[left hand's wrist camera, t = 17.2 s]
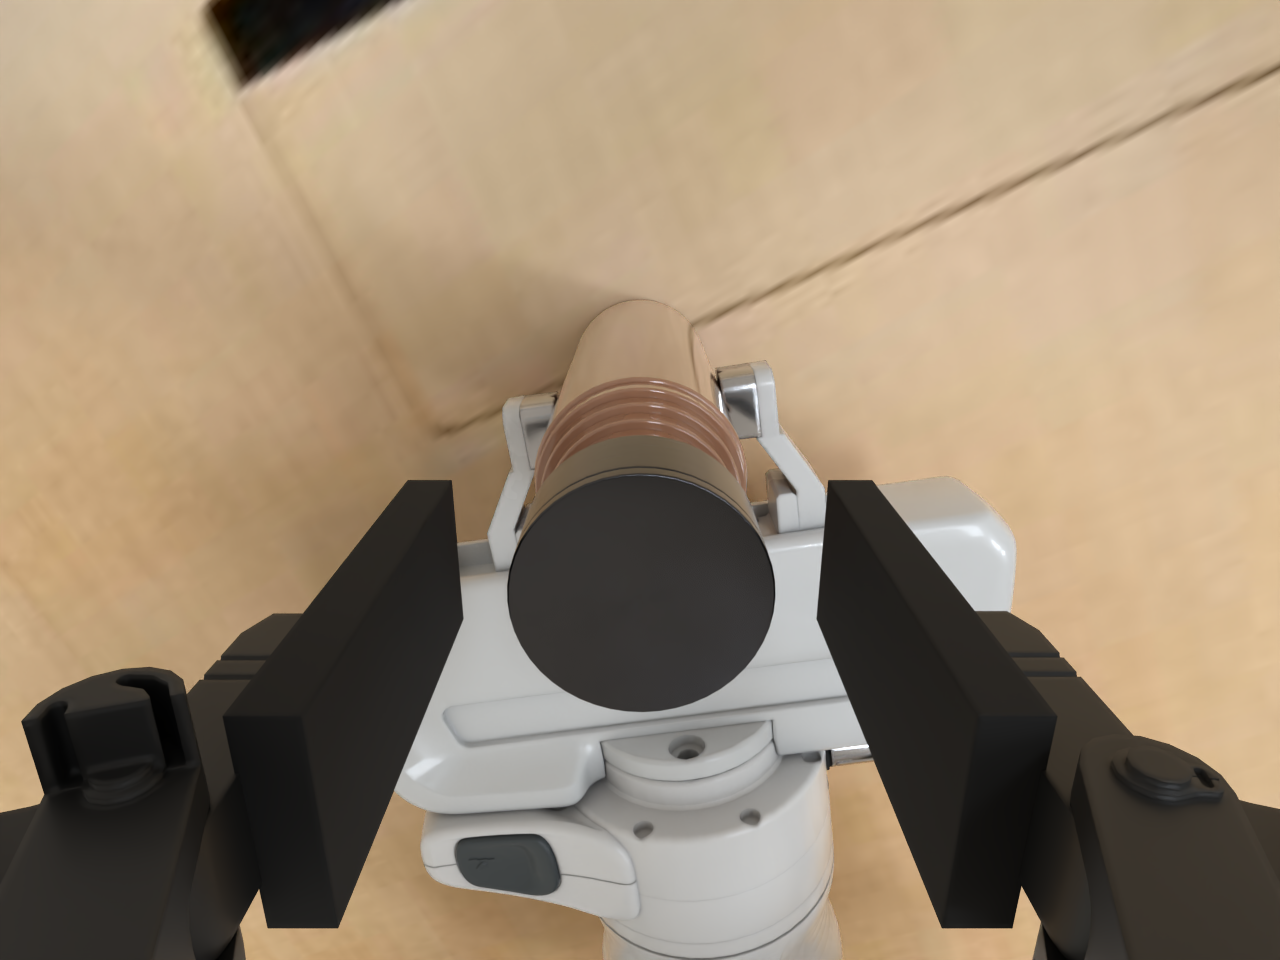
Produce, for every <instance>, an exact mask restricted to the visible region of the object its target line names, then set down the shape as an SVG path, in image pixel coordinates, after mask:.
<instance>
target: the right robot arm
mask: <svg viewBox="0 0 1280 960" xmlns="http://www.w3.org/2000/svg"><path fill="white" fill-rule="evenodd" d="M716 381H717V384H718V386H719V389H720V391H721V394H722V396H723V399H724V401H725V404H726V406H727V409H728V412H729V414H730V417H731V419H732V422H733V424H734V427H735V429H736V432H737V434H738V437H739V439H746V438H755V437H756V439H757V440H758V441H759V443H760V444H761V445H762V447H763V448H764V449H765V451H766V452H767V453H768V454H769V456H770V457H771V458H772V460H773V461H774V462H775V464H776V465H777V466H778V468H779V469H773V470H768V472H767V473H766V474H765V476H766V487H767V498H768V500H766V501H759V502H751V505H752V508H753V511H754V514H755V517H756V520H757V523H758V525H759V528H760V531H761V534H762V537H763V540H764V543H765V545H766V548H767V551H768V554H769V557H770V560H771V563H772V566H773V572H774V578H775V593H776V598H775V606H774V613H773V617H772V621H771V625H770V628H769V630H768V633H767V635H766V637H765V640H764V642H763V644H762V645H761V647H760V649H759V650H758V652H757V654H756V655H755V657H754V658H753V659H752V660H751V662H750V663H749V664H748V665H747V667H746V668H745V669H744V670H743V671H742V672H741V673H740V674H739V675H738V676H737V677H736V678H735V679H733V680H732V681H731V682H729V683H728V684H727V685H725V686H724V687H723V688H721V689H720V690H718V691H716V692H715V693H713V694H711V695H709V696H708V697H706V698H703V699H701V700H699V701H696V702H694V703H691V704H688V705H685V706H681V707H678V708H674V709H668V710H663V711H654V712H627V711H620V710H613V709H608V708H605V707H601V706H597V705H594V704H591V703H589V702H586V701H584V700H581V699H579V698H577V697H575V696H573V695H571V694H569V693H568V692H566V691H564V690H563V689H561V688H560V687H558V686H557V685H556V684H554V683H553V682H551V681H550V680H549V679H548V678H547V677H546V676H545V675H544V674H543V673H541V672H540V671H539V669H538V668H537V667H536V666H535V665H534V664H533V662H532V661H531V660H530V659H529V657H528V656H527V654H526V653H525V651H524V650H523V648H522V647H521V645H520V643H519V641H518V638H517V636H516V634H515V632H514V629H513V626H512V623H511V619H510V616H509V610H508V603H507V582H508V575H509V569H510V566H511V562H512V559H513V555H514V552H515V549H516V547H517V544H518V541H519V538H520V535H521V532H522V529H523V526H524V523H525V520H526V517H527V514H528V511H529V508H530V506H531V504H532V503H528V504H527V505H526V507H525V506H524V501H525V498H526V495H527V493H528V490H529V487H530V485H531V482H532V479H533V476H534V472H535V462H536V457H537V453H538V449H539V446H540V444H541V441H542V438H543V436H544V433H545V430H546V428H547V425H548V423H549V420H550V417H551V415H552V412H553V410H554V407H555V404H556V402H557V399H558V397H559V393H558V392H550V393H542V394H534V395H526V396H524V395H523V396H518V397H512V398H508V399H507V401H506V403H505V404H504V406H503V408H502V416H503V426H504V431H505V436H506V440H507V445H508V450H509V454H510V459H511V464H512V467H511V469H510V471H509V474H508V477H507V479H506V482H505V485H504V488H503V491H502V493H501V496H500V499H499V502H498V505H497V507H496V510H495V513H494V516H493V519H492V521H491V524H490V527H489V530H488V533H487V536H488V539H481V540H474V541H467V542H459V543H457V548H458V559H459V571H460V582H461V594H462V606H463V617H464V619H463V622H462V624H461V627H460V629H459V632H458V634H457V637H456V639H455V642H454V644H453V646H452V649H451V651H450V654H449V656H448V659H447V661H446V664H445V666H444V669H443V671H442V674H441V676H440V678H439V681H438V683H437V686H436V688H435V691H434V693H433V696H432V698H431V701H430V703H429V706H428V708H427V710H426V713H425V715H424V718H423V720H422V723H421V725H420V728H419V730H418V733H417V735H416V738H415V740H414V742H413V745H412V747H411V750H410V752H409V755H408V757H407V760H406V762H405V765H404V767H403V770H402V772H401V774H400V777H399V779H398V782H397V784H396V787H395V789H394V792H395V793H397V794H398V795H399V796H400V797H401V798H403V799H404V800H406V801H407V802H409V803H410V804H412V805H414V806H416V807H418V808H421V809H424V810H426V813H425V818H424V824H423V830H422V836H421V843H420V850H421V856H422V860H423V863H424V866H425V868H426V870H427V872H428V873H429V875H430V876H431V877H432V878H433V879H434V880H436V881H437V882H439V883H441V884H444V885H447V886H451V887H456V888H463V889H470V890H478V891H486V892H493V893H500V894H507V895H513V896H519V897H525V898H530V899H535V900H540V901H545V902H550V903H554V904H558V905H562V906H566V907H570V908H573V909H576V910H579V911H583V912H586V913H589V914H592V915H595V916H598V917H599V919H600V921H601V923H602V925H603V927H604V934H603V944H602V953H603V960H843V954H842V943H841V936H840V931H839V925H838V921H837V918H836V915H835V912H834V909H833V907H832V905H831V902H830V900H829V898H828V895H829V891H830V888H831V884H832V879H833V871H834V846H833V833H832V821H831V809H830V797H829V785H828V777H827V770H829V767H833V766H841V765H850V764H858V763H866V762H874V760H873V757H872V755H871V752H870V750H869V747H868V745H867V742H866V740H865V738H864V735H863V733H862V730H861V728H860V725H859V723H858V720H857V718H856V715H855V713H854V710H853V708H852V706H851V703H850V701H849V698H848V696H847V693H846V691H845V688H844V686H843V683H842V681H841V678H840V676H839V674H838V671H837V669H836V666H835V664H834V661H833V659H832V656H831V654H830V651H829V649H828V646H827V644H826V642H825V639H824V637H823V634H822V632H821V629H820V627H819V624H818V622H817V619H816V617H817V606H818V594H819V582H820V571H821V559H822V548H823V536H824V524H825V513H826V501H827V492H825V488H824V486H823V485H822V483H821V481H820V480H819V478H818V476H817V475H816V473H815V471H814V470H813V468H812V466H811V465H810V463H809V462H808V460H807V459H806V458H805V456H804V455H803V454H802V453H801V451H800V450H799V449H798V447H797V446H796V445H795V443H794V442H793V441H792V439H791V438H790V437H789V435H788V434H787V433H786V432H785V430H784V429H783V428H782V426H781V425H780V424H779V422H778V411H777V400H776V390H775V381H774V377H773V372H772V369H771V367H770V366H769V364H768V363H767V362H766V360H765V361H759V362H752V363H745V364H739V365H732V366H726V367H720V368H716ZM876 486H877V487H878V488H879V490H880V491H881V492H882V493H883V495H884V496H885V497H886V499H887V500H888V501H889V502H890V504H891V505H892V506H893V507H894V509H895V510H896V511H897V513H898V514H899V515H900V516H901V518H902V519H903V520H904V521H905V523H906V524H907V525H908V527H909V528H910V529H911V530H912V532H913V533H914V534H915V535H916V537H917V538H918V539H919V541H920V542H921V543H922V544H923V546H924V547H925V548H926V549H927V551H928V552H929V553H930V554H931V556H932V557H933V558H934V560H935V561H936V562H937V563H938V565H939V566H940V567H941V568H942V570H943V571H944V572H945V574H946V575H947V576H948V577H949V579H950V580H951V581H952V582H953V584H954V585H955V586H956V588H957V589H958V590H959V591H960V593H961V594H962V595H963V596H964V598H965V599H966V600H967V602H968V603H969V604H970V605H971V607H972V608H973V609H974V610H975V611H1008V612H1009V613H1011V607H1012V600H1013V591H1014V582H1015V571H1016V552H1017V550H1016V541H1015V537H1014V535H1013V532H1012V530H1011V529H1010V527H1009V525H1008V524H1007V523H1006V521H1005V520H1004V519H1003V518H1002V516H1001V515H1000V514H999V513H998V512H997V511H996V510H995V509H994V508H993V507H992V506H991V505H990V504H989V503H988V502H987V501H986V500H985V499H983V498H982V497H981V496H980V495H978V494H977V493H976V492H974V491H973V490H972V489H970V488H969V487H968V486H966V485H965V484H964V483H962V482H961V481H960V480H958V479H956V478H953V477H948V476H944V477H933V478H926V479H919V480H912V481H904V482H897V483H890V484H882V485H876Z"/></svg>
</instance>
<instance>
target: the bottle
mask: <svg viewBox="0 0 1280 960" xmlns="http://www.w3.org/2000/svg"><path fill="white" fill-rule="evenodd" d="M634 435H648V436H659V437H665V438H670V439H674V440H677V441H680V442H684V443H687V444H689V445H691V446H693V447H696V448H698V449H700V450H702V451H703V452H705V453H707V454H708V455H710V456H711V457H713V458H714V459H716V460H717V461H718V462H719V463H721V464H722V465H723V466H724V467H725V468H726V469H727V470H728V471H729V472H730V473H731V474H732V475H733V476H734V477H735V478H736V480H737V481H738V482H739V484H740V485H741V487H742V488H743V490H744V491H745V493H746V488H747V466H746V459H745V455H744V451H743V447H742V445H741V442H740V440H739V437H738V434H737V432H736V429H735V427H734V424H733V422H732V419H731V417H730V414H729V412H728V409H727V406H726V404H725V401H724V399H723V396H722V394H721V391H720V389H719V386H718V384H717V381H716V378H715V376H714V373H713V371H712V368H711V366H710V363H709V361H708V358H707V356H706V353H705V350H704V348H703V345H702V343H701V340H700V338H699V336H698V334H697V332H696V330H695V329H694V327H693V326H692V325H691V323H690V322H689V321H688V320H687V319H686V318H685V317H684V316H683V315H682V314H680V313H679V312H678V311H676V310H675V309H673V308H671V307H669V306H667V305H665V304H662V303H659V302H655V301H650V300H631V301H625V302H622V303H618V304H616V305H614V306H611V307H609V308H608V309H606V310H604V311H603V312H602V313H600V314H599V315H598V316H597V317H595V319H594V320H593V321H592V322H591V323H590V324H589V325H588V327H587V328H586V329H585V331H584V333H583V335H582V337H581V339H580V342H579V344H578V347H577V350H576V352H575V355H574V357H573V360H572V363H571V365H570V368H569V370H568V373H567V376H566V378H565V381H564V383H563V386H562V389H561V391H560V394H559V397H558V399H557V402H556V404H555V407H554V410H553V412H552V415H551V417H550V420H549V423H548V425H547V428H546V430H545V433H544V436H543V438H542V441H541V444H540V446H539V449H538V453H537V457H536V462H535V472H534V480H535V495H536V493H537V492H538V490H539V489H540V487H541V486H542V484H543V482H544V481H545V480H546V479H547V478H548V477H549V475H550V474H551V473H552V472H553V471H554V470H555V469H556V468H557V467H558V466H559V465H560V464H562V463H563V462H564V461H565V460H567V459H568V458H569V457H571V456H572V455H574V454H575V453H577V452H579V451H581V450H583V449H585V448H587V447H589V446H591V445H593V444H596V443H599V442H602V441H605V440H608V439H613V438H617V437H622V436H634Z"/></svg>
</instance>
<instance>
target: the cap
mask: <svg viewBox="0 0 1280 960" xmlns="http://www.w3.org/2000/svg"><path fill="white" fill-rule="evenodd" d="M775 598H776V593H775V578H774V572H773V566H772V563H771V560H770V557H769V554H768V551H767V548H766V545H765V543H764V540H763V537H762V534H761V531H760V528H759V525H758V523H757V520H756V517H755V514H754V511H753V508H752V505H751V503H750V501H749V499H748V497H747V495H746V493H745V491H744V490H743V488H742V487H741V485H740V484H739V482H738V481H737V480H736V478H735V477H734V476H733V475H732V474H731V473H730V472H729V471H728V470H727V469H726V468H725V467H724V466H723V465H722V464H721V463H719V462H718V461H717V460H716V459H714V458H713V457H711V456H710V455H708V454H707V453H705V452H703V451H702V450H700V449H698V448H696V447H693V446H691V445H689V444H687V443H684V442H680V441H677V440H674V439H670V438H665V437H659V436H648V435H634V436H622V437H617V438H613V439H608V440H605V441H602V442H599V443H596V444H593V445H591V446H589V447H587V448H585V449H583V450H581V451H579V452H577V453H575V454H574V455H572V456H571V457H569V458H568V459H567V460H565V461H564V462H563V463H562V464H560V465H559V466H558V467H557V468H556V469H555V470H554V471H553V472H552V473H551V474H550V475H549V477H548V478H547V479H546V480H545V481H544V482H543V484H542V486H541V487H540V489H539V490H538V492H537V493H536V495H535V497H534V499H533V502H532V504H531V506H530V508H529V511H528V514H527V517H526V520H525V523H524V526H523V529H522V532H521V535H520V538H519V541H518V544H517V547H516V549H515V552H514V555H513V559H512V562H511V566H510V569H509V575H508V582H507V603H508V610H509V616H510V619H511V623H512V626H513V629H514V632H515V634H516V636H517V638H518V641H519V643H520V645H521V647H522V648H523V650H524V651H525V653H526V654H527V656H528V657H529V659H530V660H531V661H532V662H533V664H534V665H535V666H536V667H537V668H538V669H539V671H540V672H541V673H543V674H544V675H545V676H546V677H547V678H548V679H549V680H550V681H551V682H553V683H554V684H556V685H557V686H558V687H560V688H561V689H563V690H564V691H566V692H568V693H569V694H571V695H573V696H575V697H577V698H579V699H581V700H584V701H586V702H589V703H591V704H594V705H597V706H601V707H605V708H608V709H613V710H620V711H627V712H654V711H663V710H668V709H674V708H678V707H681V706H685V705H688V704H691V703H694V702H696V701H699V700H701V699H703V698H706V697H708V696H709V695H711V694H713V693H715V692H716V691H718V690H720V689H721V688H723V687H724V686H725V685H727V684H728V683H729V682H731V681H732V680H733V679H735V678H736V677H737V676H738V675H739V674H740V673H741V672H742V671H743V670H744V669H745V668H746V667H747V665H748V664H749V663H750V662H751V660H752V659H753V658H754V657H755V655H756V654H757V652H758V650H759V649H760V647H761V645H762V644H763V642H764V640H765V637H766V635H767V633H768V630H769V628H770V625H771V621H772V617H773V613H774V606H775Z"/></svg>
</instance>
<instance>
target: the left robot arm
mask: <svg viewBox="0 0 1280 960" xmlns="http://www.w3.org/2000/svg"><path fill="white" fill-rule="evenodd" d="M463 619H464V617H463V606H462V594H461V582H460V571H459V559H458V548H457V536H456V524H455V513H454V501H453V490H452V480H408V481H407V482H406V483H405V485H404V486H403V487H402V488H401V490H400V491H399V492H398V493H397V495H396V496H395V497H394V499H393V500H392V501H391V502H390V504H389V505H388V506H387V507H386V509H385V510H384V511H383V513H382V514H381V515H380V516H379V518H378V519H377V520H376V521H375V523H374V524H373V525H372V527H371V528H370V529H369V530H368V532H367V533H366V534H365V535H364V537H363V538H362V539H361V540H360V542H359V543H358V544H357V546H356V547H355V548H354V549H353V551H352V552H351V553H350V554H349V556H348V557H347V558H346V560H345V561H344V562H343V563H342V565H341V566H340V567H339V568H338V570H337V571H336V572H335V574H334V575H333V576H332V577H331V579H330V580H329V581H328V582H327V584H326V585H325V586H324V588H323V589H322V590H321V591H320V593H319V594H318V595H317V596H316V598H315V599H314V600H313V602H312V603H311V604H310V605H309V607H308V608H307V609H306V610H305V612H304V613H303V614H272V615H270V616H269V617H267V618H266V619H264V620H262V621H261V622H259V623H257V624H256V625H254V626H252V627H251V628H249V629H247V630H246V631H244V632H242V633H241V634H240V635H239V636H238V637H237V639H236V640H235V641H234V642H233V643H232V644H231V645H230V646H229V648H228V649H227V650H226V651H225V652H224V653H223V654H222V655H221V660H217V661H216V662H215V663H214V664H213V666H212V667H211V668H210V669H209V670H208V671H207V672H206V673H205V675H204V680H199V681H198V682H197V684H196V685H195V686H194V687H193V688H192V689H191V690H190V691H189V693H188V694H186V690H185V686H184V681H183V679H182V678H180V677H179V676H177V675H176V674H175V673H173V672H172V671H170V670H164V669H158V668H153V667H143V668H129V669H120V670H116V671H112V672H108V673H104V674H100V675H96V676H92V677H89V678H87V679H84V680H82V681H79V682H77V683H75V684H72V685H70V686H67V687H65V688H62V689H61V690H59V691H58V692H56V693H54V694H53V695H51V696H50V697H48V698H46V699H45V700H43V701H42V702H40V703H38V704H37V705H36V706H35V707H34V708H33V709H32V710H31V711H30V713H29V714H28V715H27V716H26V717H25V718H24V719H23V720H22V721H21V722H22V725H23V729H24V732H25V735H26V738H27V741H28V744H29V747H30V751H31V754H32V757H33V760H34V763H35V766H36V769H37V773H38V776H39V779H40V782H41V785H42V788H43V791H44V797H43V799H42V801H41V803H40V804H38V805H34V806H31V807H26V808H21V809H16V810H12V811H7V812H2V813H0V960H246V958H245V950H244V943H243V938H242V933H241V929H240V923H241V921H242V919H243V917H244V916H245V914H246V912H247V910H248V908H249V906H250V905H251V903H252V901H253V899H254V897H255V895H256V893H257V892H258V890H260V895H261V899H262V904H263V909H264V913H265V918H266V923H267V927H268V928H338V927H339V925H340V922H341V920H342V917H343V915H344V912H345V910H346V907H347V905H348V902H349V900H350V898H351V895H352V893H353V890H354V888H355V885H356V883H357V880H358V878H359V875H360V873H361V870H362V868H363V866H364V863H365V861H366V858H367V856H368V853H369V851H370V848H371V846H372V843H373V841H374V838H375V836H376V834H377V831H378V829H379V826H380V824H381V821H382V819H383V816H384V814H385V811H386V809H387V806H388V804H389V802H390V799H391V797H392V794H393V792H394V789H395V787H396V784H397V782H398V779H399V777H400V774H401V772H402V770H403V767H404V765H405V762H406V760H407V757H408V755H409V752H410V750H411V747H412V745H413V742H414V740H415V738H416V735H417V733H418V730H419V728H420V725H421V723H422V720H423V718H424V715H425V713H426V710H427V708H428V706H429V703H430V701H431V698H432V696H433V693H434V691H435V688H436V686H437V683H438V681H439V678H440V676H441V674H442V671H443V669H444V666H445V664H446V661H447V659H448V656H449V654H450V651H451V649H452V646H453V644H454V642H455V639H456V637H457V634H458V632H459V629H460V627H461V624H462V622H463ZM816 619H817V622H818V624H819V627H820V629H821V632H822V634H823V637H824V639H825V642H826V644H827V646H828V649H829V651H830V654H831V656H832V659H833V661H834V664H835V666H836V669H837V671H838V674H839V676H840V678H841V681H842V683H843V686H844V688H845V691H846V693H847V696H848V698H849V701H850V703H851V706H852V708H853V710H854V713H855V715H856V718H857V720H858V723H859V725H860V728H861V730H862V733H863V735H864V738H865V740H866V742H867V745H868V747H869V750H870V752H871V755H872V757H873V760H874V762H875V765H876V767H877V770H878V772H879V774H880V777H881V779H882V782H883V784H884V787H885V789H886V792H887V794H888V797H889V799H890V802H891V804H892V806H893V809H894V811H895V814H896V816H897V819H898V821H899V824H900V826H901V829H902V831H903V834H904V836H905V838H906V841H907V843H908V846H909V848H910V851H911V853H912V856H913V858H914V861H915V863H916V866H917V868H918V870H919V873H920V875H921V878H922V880H923V883H924V885H925V888H926V890H927V893H928V895H929V898H930V900H931V902H932V905H933V907H934V910H935V912H936V915H937V917H938V920H939V922H940V925H941V927H942V928H1012V927H1013V923H1014V918H1015V913H1016V909H1017V904H1018V899H1019V895H1020V890H1021V886H1022V887H1023V889H1024V891H1025V893H1026V895H1027V897H1028V898H1029V900H1030V902H1031V904H1032V906H1033V908H1034V909H1035V911H1036V913H1037V915H1038V917H1039V919H1040V920H1041V925H1040V929H1039V933H1038V938H1037V942H1036V946H1035V951H1034V955H1033V960H1280V809H1276V808H1272V807H1267V806H1262V805H1257V804H1253V803H1248V802H1245V801H1241V800H1239V799H1238V797H1237V795H1236V793H1235V792H1234V791H1233V789H1232V788H1231V787H1230V786H1229V784H1228V783H1227V782H1226V781H1225V779H1224V778H1223V777H1222V775H1220V774H1219V773H1218V772H1216V771H1215V770H1214V769H1212V768H1211V767H1210V766H1208V765H1207V764H1205V763H1204V762H1203V761H1201V760H1200V759H1199V758H1197V757H1195V756H1193V755H1191V754H1189V753H1187V752H1184V751H1182V750H1180V749H1178V748H1176V747H1174V746H1172V745H1170V744H1166V743H1163V742H1159V741H1156V740H1152V739H1149V738H1145V737H1141V736H1133V735H1132V733H1131V732H1130V731H1129V730H1128V729H1127V728H1126V727H1125V726H1124V724H1123V723H1122V722H1121V721H1120V720H1119V719H1118V718H1117V717H1116V716H1115V714H1114V713H1113V712H1112V711H1111V710H1110V709H1109V708H1108V707H1107V706H1106V704H1105V703H1104V702H1103V701H1102V700H1101V699H1100V698H1099V697H1098V695H1097V694H1096V693H1095V692H1094V691H1093V690H1092V689H1091V688H1090V687H1089V685H1088V684H1087V683H1086V682H1085V681H1084V680H1083V679H1082V678H1081V677H1077V675H1076V671H1075V670H1074V669H1073V668H1072V666H1071V665H1070V664H1069V663H1068V662H1067V661H1066V660H1065V659H1064V658H1060V656H1059V652H1058V651H1057V650H1056V649H1055V648H1054V646H1053V645H1052V644H1051V643H1050V642H1049V641H1048V640H1047V639H1046V637H1045V636H1044V635H1043V634H1042V633H1041V632H1040V631H1039V630H1038V629H1036V628H1034V627H1033V626H1031V625H1029V624H1028V623H1026V622H1024V621H1023V620H1021V619H1019V618H1018V617H1016V616H1014V615H1013V614H1011V613H1009V612H1008V611H975V610H974V609H973V608H972V607H971V605H970V604H969V603H968V602H967V600H966V599H965V598H964V596H963V595H962V594H961V593H960V591H959V590H958V589H957V588H956V586H955V585H954V584H953V582H952V581H951V580H950V579H949V577H948V576H947V575H946V574H945V572H944V571H943V570H942V568H941V567H940V566H939V565H938V563H937V562H936V561H935V560H934V558H933V557H932V556H931V554H930V553H929V552H928V551H927V549H926V548H925V547H924V546H923V544H922V543H921V542H920V541H919V539H918V538H917V537H916V535H915V534H914V533H913V532H912V530H911V529H910V528H909V527H908V525H907V524H906V523H905V521H904V520H903V519H902V518H901V516H900V515H899V514H898V513H897V511H896V510H895V509H894V507H893V506H892V505H891V504H890V502H889V501H888V500H887V499H886V497H885V496H884V495H883V493H882V492H881V491H880V490H879V488H878V487H877V486H876V485H875V483H874V482H873V481H872V480H828V490H827V501H826V513H825V524H824V536H823V548H822V559H821V571H820V582H819V594H818V606H817V617H816Z"/></svg>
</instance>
